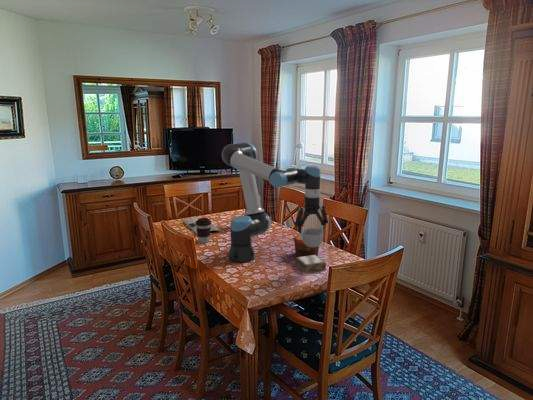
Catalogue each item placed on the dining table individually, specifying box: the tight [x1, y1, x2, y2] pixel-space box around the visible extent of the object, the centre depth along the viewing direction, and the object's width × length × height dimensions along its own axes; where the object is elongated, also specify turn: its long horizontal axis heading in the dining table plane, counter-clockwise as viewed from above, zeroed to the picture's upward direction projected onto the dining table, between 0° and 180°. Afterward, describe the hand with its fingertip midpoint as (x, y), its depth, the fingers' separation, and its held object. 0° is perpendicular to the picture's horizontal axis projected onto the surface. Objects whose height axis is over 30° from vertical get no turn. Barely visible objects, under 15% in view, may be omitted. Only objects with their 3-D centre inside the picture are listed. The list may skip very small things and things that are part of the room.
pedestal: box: [295, 255, 327, 274], centre depth 196 cm, size 12×12×4 cm
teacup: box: [303, 227, 324, 247], centre depth 193 cm, size 14×11×8 cm
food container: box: [292, 233, 320, 257], centre depth 213 cm, size 16×16×11 cm
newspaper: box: [182, 217, 223, 235], centre depth 269 cm, size 37×19×3 cm, turn 27°
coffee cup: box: [195, 217, 212, 244], centre depth 235 cm, size 10×10×15 cm
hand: (311, 237), depth 193 cm, fingers closed on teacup, 11 cm apart
